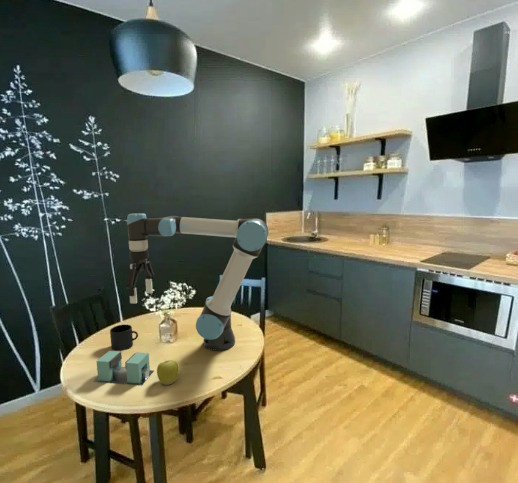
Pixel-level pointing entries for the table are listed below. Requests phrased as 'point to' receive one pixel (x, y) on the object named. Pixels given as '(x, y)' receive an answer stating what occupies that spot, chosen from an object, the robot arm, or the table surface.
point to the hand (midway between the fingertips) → (141, 297)
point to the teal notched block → (108, 365)
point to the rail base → (121, 376)
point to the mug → (122, 337)
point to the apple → (167, 372)
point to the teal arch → (136, 367)
